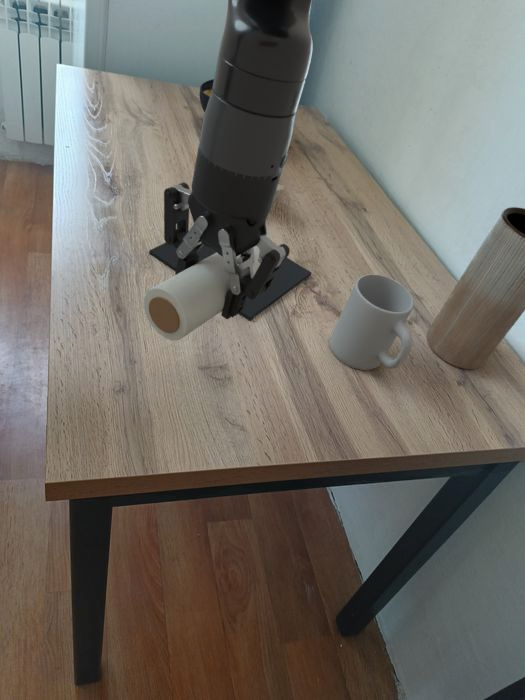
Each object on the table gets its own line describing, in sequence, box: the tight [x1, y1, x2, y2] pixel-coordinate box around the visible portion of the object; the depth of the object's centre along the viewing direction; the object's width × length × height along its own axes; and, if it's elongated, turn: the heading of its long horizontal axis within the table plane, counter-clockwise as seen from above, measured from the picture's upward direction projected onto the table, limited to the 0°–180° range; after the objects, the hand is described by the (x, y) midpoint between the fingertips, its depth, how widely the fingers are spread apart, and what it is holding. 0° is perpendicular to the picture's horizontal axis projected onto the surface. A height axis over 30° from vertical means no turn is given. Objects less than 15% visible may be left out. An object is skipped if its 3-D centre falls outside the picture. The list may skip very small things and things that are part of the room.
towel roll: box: [143, 246, 261, 341], centre depth 57 cm, size 6×14×6 cm, turn 145°
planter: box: [426, 206, 525, 370], centre depth 79 cm, size 10×10×23 cm
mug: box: [328, 273, 415, 371], centre depth 75 cm, size 12×8×11 cm
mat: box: [148, 242, 312, 321], centre depth 87 cm, size 20×18×1 cm
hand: (207, 299), depth 58 cm, fingers closed on towel roll, 5 cm apart
